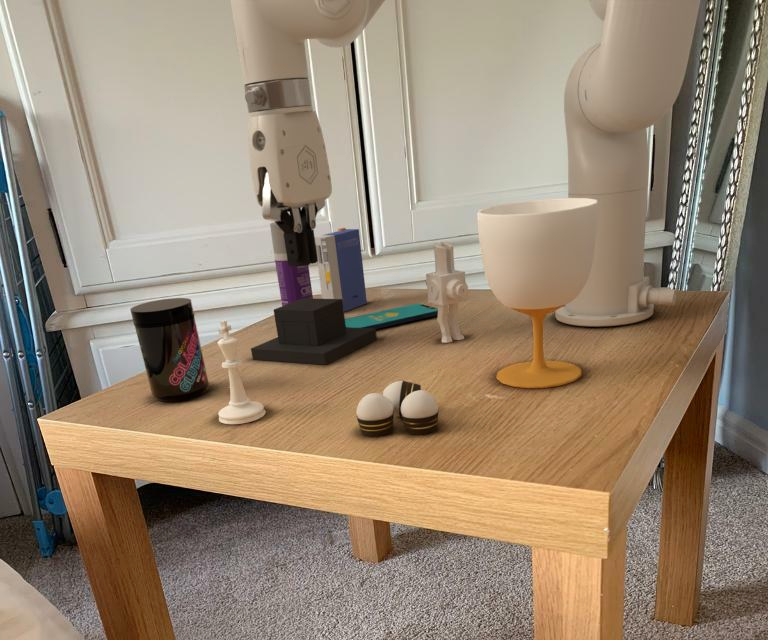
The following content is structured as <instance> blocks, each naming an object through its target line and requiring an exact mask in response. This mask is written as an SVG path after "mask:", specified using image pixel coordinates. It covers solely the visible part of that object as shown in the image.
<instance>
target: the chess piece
mask: <svg viewBox="0 0 768 640" xmlns="http://www.w3.org/2000/svg"><path fill="white" fill-rule="evenodd" d="M220 327H221V328H218V334H219V335H222V338H220V339H219V340H218V341H217V346H218V348H219V349H220V351H221V352H222V355H223V357H224V358H225V361H223V362H222V363H221V368H223V369H228V371H227V372H228V379H229V380H228V381H229V390H230V391H229V392H230V393H229V394H230V400H229V401H228V405H226V406H224V407H223V408H221V409H220V410H219V411H218V421H219V422H220V423H222V424H225V425H241V424H242V425H243V424H247V423H251V422H254V421H257V420H259V419H262V418H263V417H264V416H265V415H266V413H267V412H266V410H265V406H264V404H263V403H261V402H258V401H252V400H251V398H250V397H248V396H247V393H246V390H245V387H244V384H243V382H242V379H241V376H240V375H241V374H240V373H239V367H241V366H242V365H243V364H244V363H243V361H242V360H241V359H238V358H237V349H238V343H239V342H238V338H236V337H232V336H230V331H231V330H232V325H231V324H228V321H227V320H221V321H220Z"/></svg>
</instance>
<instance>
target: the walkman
mask: <svg viewBox="0 0 768 640" xmlns="http://www.w3.org/2000/svg"><path fill="white" fill-rule="evenodd" d="M314 237H315V244H316V252H317V259H318V261H317V262H316V263H317V270H318V277H319V284H320V285H319V286H320V290H321V299H342V301H343V309H344V310H343V311H344V313H346V312H347V311H350V310H353V309H356V308H358V307H361V306H364V305H367V304H368V301H367V292H366V291H367V290H366V281H365V274H364V273H365V272H364V264H363V255H362V245H361V238H360V229H359V228H347V229H346V227H340V228H337V231H333V232H330V233H329V232H328V233H325V234H321V235H318V236H314Z"/></svg>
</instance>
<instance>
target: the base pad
mask: <svg viewBox="0 0 768 640" xmlns="http://www.w3.org/2000/svg"><path fill="white" fill-rule="evenodd" d="M377 339H378V338H377V329H375V328H352V327H346V333H345V334H343V335H341V336H339V337H336V338H334V339H332V340H330V341H328V342H326V343H324V344H321V345H319V346H310V345H293V344H279V340H278V336H277V337H275V338H272V339H269V340H267V341H266V342H265V341H264V342H263V343H261V344H258V345H255V346H253V347H251V348H250V352H251V357H252V360H255V361H268V362H281V363H295V364H307V365H308V364H309V365H311V364H312V365H322V366H327V365H329V364H331V363H333V362H335V361H338V360H339V359H340V358H341V359H342V357H344V356H346V355H348V354H351V353H352V352H354V351H356V350H358V349H360V348H362V347H364V346H366V345H368V344H370V343H372V342H374V341H376V340H377Z"/></svg>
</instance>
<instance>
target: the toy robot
mask: <svg viewBox="0 0 768 640" xmlns="http://www.w3.org/2000/svg"><path fill="white" fill-rule="evenodd" d="M433 253H434V264H435V265H434V267H435V271H433V272H428V273H426V274H425V281H424V282H425V285H426V292H427V293H426V294H427V302H428V303H430V304H434V305H438V307H437V309H438V315H437V323H438V325H439V327H440V328H439V329H440V332H441V343H443V344H445V343H446V344H448V343H452V342H453V341H461V340H464V339H465V336H464V335H463V334H462V333H461V328H460V325H459V303H461V302H466V301H467V295H468V293H469V285H468V283H467V282H466V271H462V270H458V269H457V270H456V269H455V255H454V244H453V243H452V242H449V241H440V244H439V243H438V242H434V243H433Z"/></svg>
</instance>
